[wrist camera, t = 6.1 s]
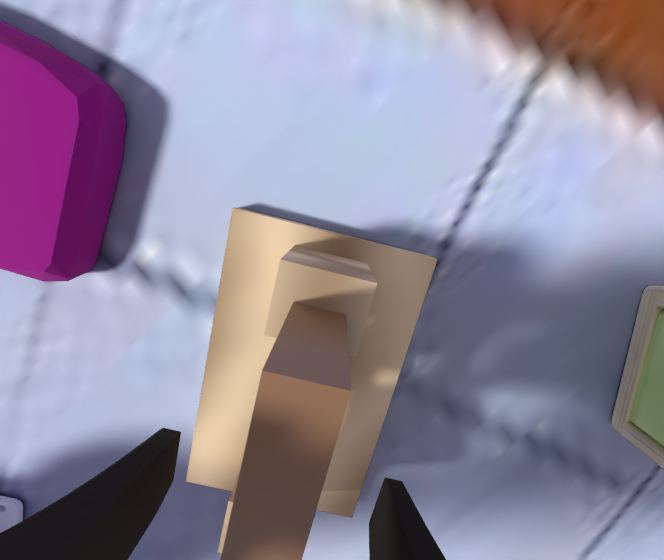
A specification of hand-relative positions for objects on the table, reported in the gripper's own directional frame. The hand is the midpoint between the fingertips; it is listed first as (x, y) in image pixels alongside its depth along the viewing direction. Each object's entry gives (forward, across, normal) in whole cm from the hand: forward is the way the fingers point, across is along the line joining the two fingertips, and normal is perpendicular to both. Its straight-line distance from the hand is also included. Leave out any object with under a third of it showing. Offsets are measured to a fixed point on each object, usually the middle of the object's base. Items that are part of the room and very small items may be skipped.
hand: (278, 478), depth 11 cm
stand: (+7, 0, 0) cm, 7 cm away
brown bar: (+2, 0, +1) cm, 2 cm away
